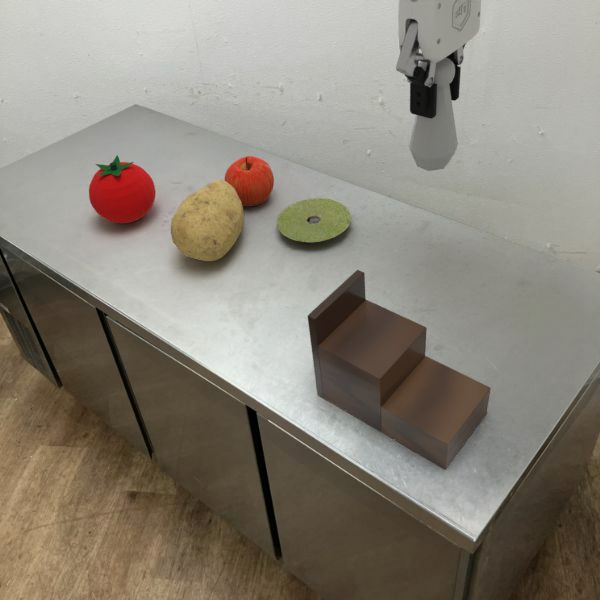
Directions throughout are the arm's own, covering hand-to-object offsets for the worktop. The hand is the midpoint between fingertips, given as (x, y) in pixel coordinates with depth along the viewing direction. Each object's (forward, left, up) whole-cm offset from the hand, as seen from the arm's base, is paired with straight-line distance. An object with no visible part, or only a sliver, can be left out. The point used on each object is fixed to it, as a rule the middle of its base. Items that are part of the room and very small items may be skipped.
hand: (434, 104), depth 76 cm
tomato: (+40, -29, -23) cm, 54 cm away
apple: (+20, -25, -23) cm, 40 cm away
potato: (+28, -15, -23) cm, 39 cm away
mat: (+13, -13, -23) cm, 30 cm away
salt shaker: (0, 0, -8) cm, 8 cm away
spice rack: (+14, +23, -23) cm, 35 cm away
